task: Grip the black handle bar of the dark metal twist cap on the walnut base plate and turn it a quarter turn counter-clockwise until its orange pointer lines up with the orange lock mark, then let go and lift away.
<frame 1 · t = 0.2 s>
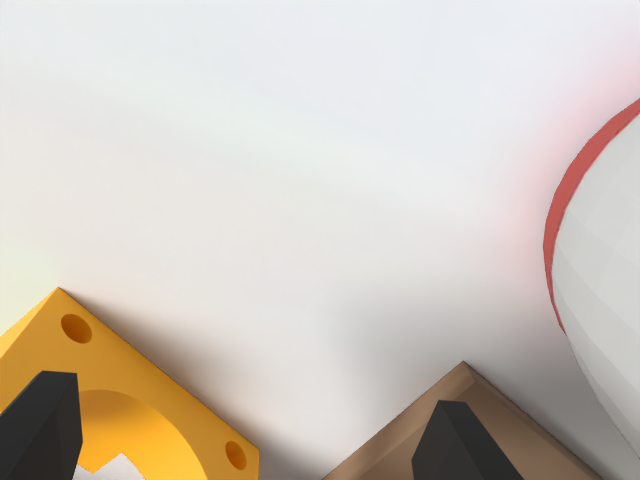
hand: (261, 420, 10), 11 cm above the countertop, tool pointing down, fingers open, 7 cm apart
pipe clamp: (135, 397, 23), on the countertop
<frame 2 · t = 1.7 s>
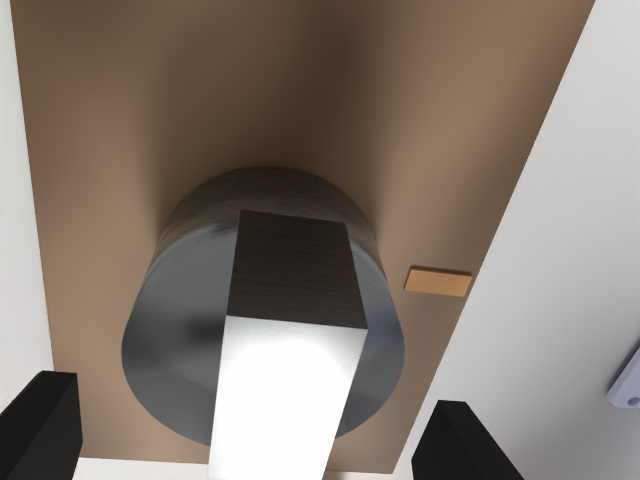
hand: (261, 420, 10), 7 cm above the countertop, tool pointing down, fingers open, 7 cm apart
twist cap: (266, 357, 12), point 5 cm above the countertop, hinge at 0.0°
base plate: (270, 235, 16), on the countertop
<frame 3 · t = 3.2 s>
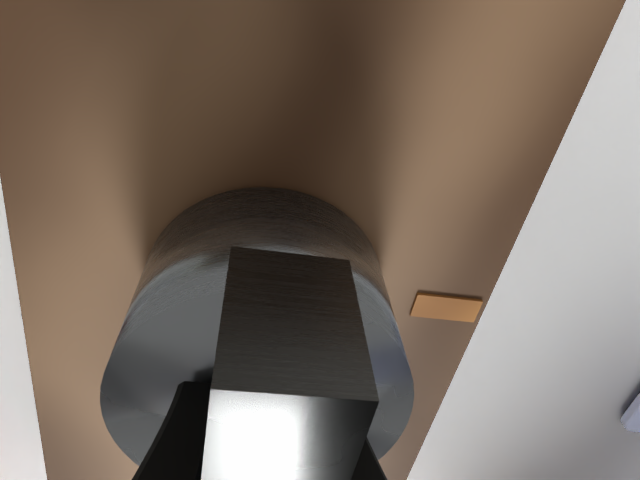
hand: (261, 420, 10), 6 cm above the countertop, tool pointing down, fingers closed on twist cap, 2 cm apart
twist cap: (261, 400, 11), point 5 cm above the countertop, hinge at 0.0°, touching gripper
base plate: (266, 257, 15), on the countertop
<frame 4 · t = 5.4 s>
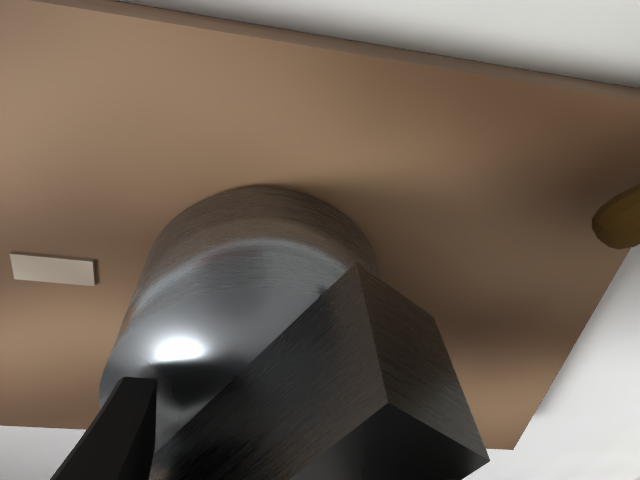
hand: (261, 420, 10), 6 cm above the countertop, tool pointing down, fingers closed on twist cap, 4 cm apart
twist cap: (260, 399, 11), point 5 cm above the countertop, hinge at 58.8°, touching gripper
base plate: (265, 257, 15), on the countertop
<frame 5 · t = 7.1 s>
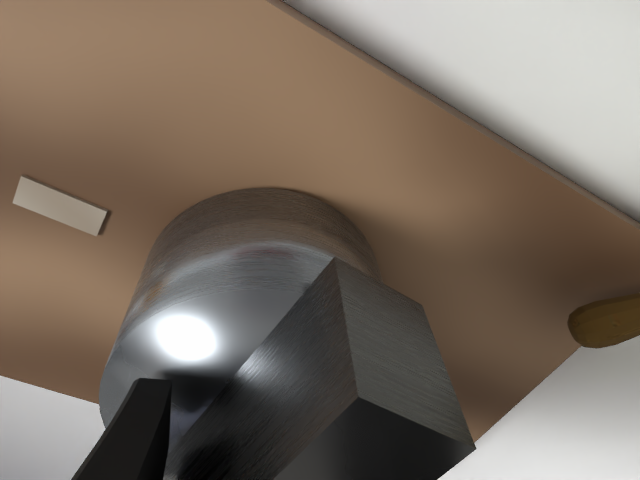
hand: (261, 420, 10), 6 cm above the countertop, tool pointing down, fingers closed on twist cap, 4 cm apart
twist cap: (260, 400, 11), point 5 cm above the countertop, hinge at 85.2°, touching gripper
base plate: (265, 257, 15), on the countertop
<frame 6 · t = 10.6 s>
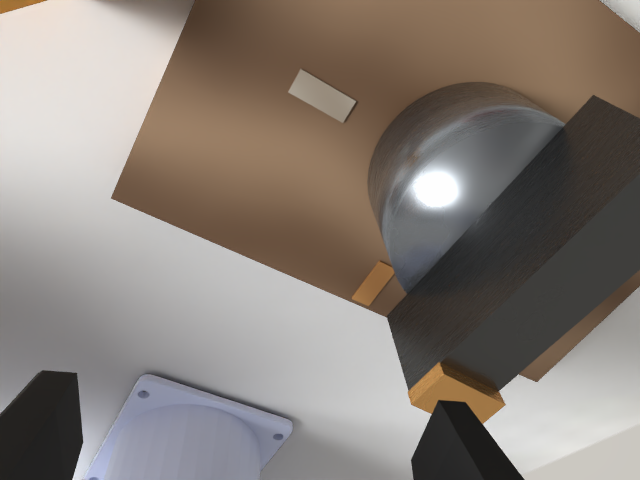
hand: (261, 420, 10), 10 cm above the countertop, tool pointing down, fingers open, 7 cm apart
twist cap: (499, 229, 14), point 5 cm above the countertop, hinge at 85.6°
base plate: (445, 157, 19), on the countertop
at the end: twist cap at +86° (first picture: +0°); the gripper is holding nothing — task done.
